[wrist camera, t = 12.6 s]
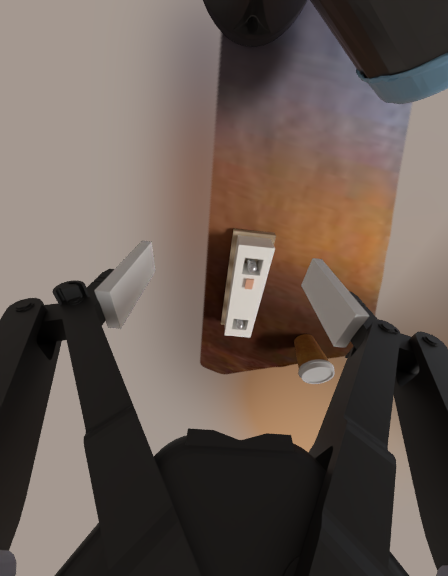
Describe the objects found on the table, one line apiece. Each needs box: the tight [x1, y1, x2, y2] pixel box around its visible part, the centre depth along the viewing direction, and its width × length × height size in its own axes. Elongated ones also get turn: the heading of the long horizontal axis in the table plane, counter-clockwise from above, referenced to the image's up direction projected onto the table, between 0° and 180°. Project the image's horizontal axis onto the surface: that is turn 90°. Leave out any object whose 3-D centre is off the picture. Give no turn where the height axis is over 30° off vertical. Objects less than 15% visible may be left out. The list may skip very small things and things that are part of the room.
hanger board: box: [221, 229, 276, 325], centre depth 49 cm, size 28×9×2 cm, turn 174°
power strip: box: [225, 235, 275, 337], centre depth 46 cm, size 26×7×6 cm, turn 174°
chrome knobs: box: [236, 258, 257, 329], centre depth 46 cm, size 19×2×7 cm, turn 174°
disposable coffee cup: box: [294, 334, 334, 384], centre depth 57 cm, size 10×10×12 cm
